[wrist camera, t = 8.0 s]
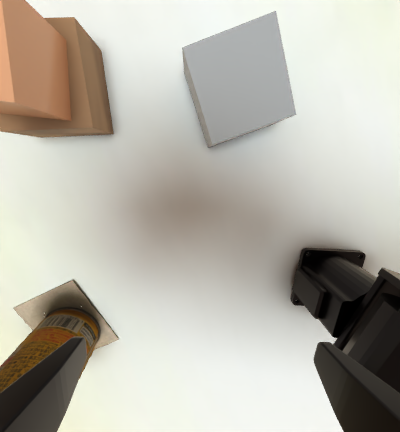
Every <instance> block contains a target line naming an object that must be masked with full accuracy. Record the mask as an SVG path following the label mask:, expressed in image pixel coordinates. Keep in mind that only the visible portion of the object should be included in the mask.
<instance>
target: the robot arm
mask: <svg viewBox="0 0 400 432" xmlns="http://www.w3.org/2000/svg"><path fill="white" fill-rule="evenodd" d="M307 252H309V253H308V254H307V255H306V253H307ZM359 255H360V256H359ZM358 256H359V257H358ZM364 260H365V254H364V253H363V252H361V251H354V250H335V249H316V248H305V249H303V250H302V252H301V256H300V261H299V265H298V268H297V270H296V275H295V279H294V284H293V288H292V290H293V292H292V296H291V301H292V303H293V304H294V305H301V306H305V307H306V308H307V309H308V310H309V312H310V313H311V314H312V316H313V317H314V318H315V319H319V320H320V321H321V323H322V324H323V325H324V326H325V328H326V329H327V330H328V331H329V333H330V334H331V335H332V336H333V337H334V338H337V340H336V341H335V343H334V344H331V343H329V342H319V343H318V345H317V348H316V352H315V355H314V363H315V366H316V369H317V371H318V374H319V376H320V379H321V381H322V384H323V386H324V389H325V391H326V394H327V396H328V398H329V401H330V403H331V406H332V408H333V410H334V413H335V415H336V417H337V419H338V421H339V423H340V425H341V427H342V429H343V431H344V432H400V274H399V273H396V272H393V271H390V270H388V269H385V268H381V270H380V271H379V273H378V274H379V276H378V277H375V276H374V275H372V274H370V273H369V272H367V271H366V270H364V269H363V268H362V266H363V263H364ZM295 300H296V301H295ZM86 357H87V350H86V340H85V338H84V337H72V338H70V339H69V340H68V341H66V342H65V343H64V344H63V345H61V346H60V347H59V348H57V349H56V350H55V351H54V352H52V353H51V354H50V355H48V356H47V357H46V358H44V359H43V360H42V361H41V362H39V363H38V364H37V365H35V366H34V367H33V368H32V369H30V370H29V371H28V372H26V373H25V374H24V375H22V376H21V377H20V378H19V379H17V380H16V381H15V382H13V383H12V384H11V385H10V386H8V387H7V388H6V389H4V390H3V391H2V392H0V432H57V430H58V428H59V426H60V424H61V422H62V420H63V418H64V415H65V413H66V411H67V408H68V406H69V403H70V401H71V398H72V395H73V393H74V390H75V387H76V385H77V382H78V380H79V377H80V374H81V372H82V369H83V366H84V364H85V361H86Z"/></svg>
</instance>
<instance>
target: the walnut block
mask: <svg viewBox="0 0 400 432" xmlns="http://www.w3.org/2000/svg"><path fill="white" fill-rule="evenodd" d="M44 19H45V20H46V21H47V22H48V23H49V24H50V25H51V26H52V27H53V28H54V29H55V30H56V31H57V32H59V33H60V34H61V35H62V36H63V37H64V38H65V39H66V45H67V60H68V76H69V91H70V107H71V121H67V120H58V119H48V118H39V117H30V116H20V115H11V114H2V113H0V131H1V132H8V133H15V134H22V135H28V136H35V137H62V136H85V135H108V134H113V127H112V120H111V113H110V107H109V100H108V93H107V86H106V80H105V73H104V66H103V59H102V53H101V50H100V48H99V47H98V46H97V45H96V43H95V42H94V41H93V40H92V39H91V37H90V36H89V35H88V34H87V32H86V31H85V30H84V29H83V28H82V26H81V25H80V24H79V23H78V21H77V20H76V19H75V18H74V17H67V18H44Z"/></svg>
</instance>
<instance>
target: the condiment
mask: <svg viewBox="0 0 400 432" xmlns="http://www.w3.org/2000/svg"><path fill="white" fill-rule="evenodd" d="M81 306H82V307H81ZM14 310H15V311H16V312H17V314H18V315H19V316H20V317H22V318H23V320H24V321H25V323H26V324H28V325H29V326H30V327H31V329H32V330H33V331H32V333H30V334H29V336H27V338H26V339H25V340H24V341H23V342H22V343H21V344H20V345H19V346H18V347H17V348H16V350H15V351H14V352H13V353H12V354H11V355H10V356H9V357H8V359H7V360H5V362H4V363H3V364H2V365H1V366H0V392H2V391H3V390H4V389H6V388H7V387H8V386H10V385H11V384H12V383H13V382H15V381H16V380H17V379H19V378H20V377H21V376H22V375H24V374H25V373H26V372H28V371H29V370H30V369H32V368H33V367H34V366H35V365H37V364H38V363H39V362H41V361H42V360H43V359H44V358H46V357H47V356H48V355H50V354H51V353H52V352H54V351H55V350H56V349H57V348H59V347H60V346H61V345H63V344H64V343H65V342H66V341H68V340H69V339H70V338H72V337H84V338H85V340H86V350H87V357H86V361H85V364H84V366H83V369H82V372H83V370H84V369H85V366H86V364H87V362H88V360H89V358H90V357H91V355H92V353H93V351H94V350H95V349H97V348H99V347H102V346H105V345H108V344H110V343H112V342H114V341H116V340H119V339H118V338H117V337H116V335H115V334H114V332H113V331H112V330H111V328H110V327H109V326H108V325H107V323H106V321H105V320H104V319H103V318H102V317H101V315H100V314H99V313H98V312H97V310H96V309H95V308H94V307H93V306H92V305H91V303H90V302H89V300H88V299H87V298H86V296H85V295H84V294H83V293H82V292H81V291H80V290H79V289H78V287H77V286H76V284H75V283H74V282H73V280H72V281H70V282H68V283H65V284H63V285H61V286H59V287H57V288H55V289H52V290H50V291H48V292H46V293H44V294H42V295H39V296H37V297H35V298H34V299H32V300H29V301H27V302H25V303H23V304H21V305H19V306H17V307H15V308H14ZM44 312H45V314H43V313H44ZM44 316H45V317H44ZM82 372H81V374H82ZM81 374H80V377H81ZM80 377H79V378H80Z"/></svg>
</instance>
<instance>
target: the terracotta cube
mask: <svg viewBox="0 0 400 432" xmlns="http://www.w3.org/2000/svg"><path fill="white" fill-rule="evenodd" d="M0 113H2V114H11V115H20V116H30V117H39V118H48V119H58V120H67V121H71V107H70V91H69V76H68V60H67V45H66V39H65V38H64V37H63V36H62V35H61V34H60V33H59V32H57V31H56V30H55V29H54V28H53V27H52V26H51V25H50V24H49V23H48V22H47V21H46V20H45V19H44V18H43V17H42V16H41V15H40V14H39V13H38V12H37V11H36V10H35V9H34V8H33V7H32V6H31V5H29V4H28V3H27V2H26V1H25V0H0Z"/></svg>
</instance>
